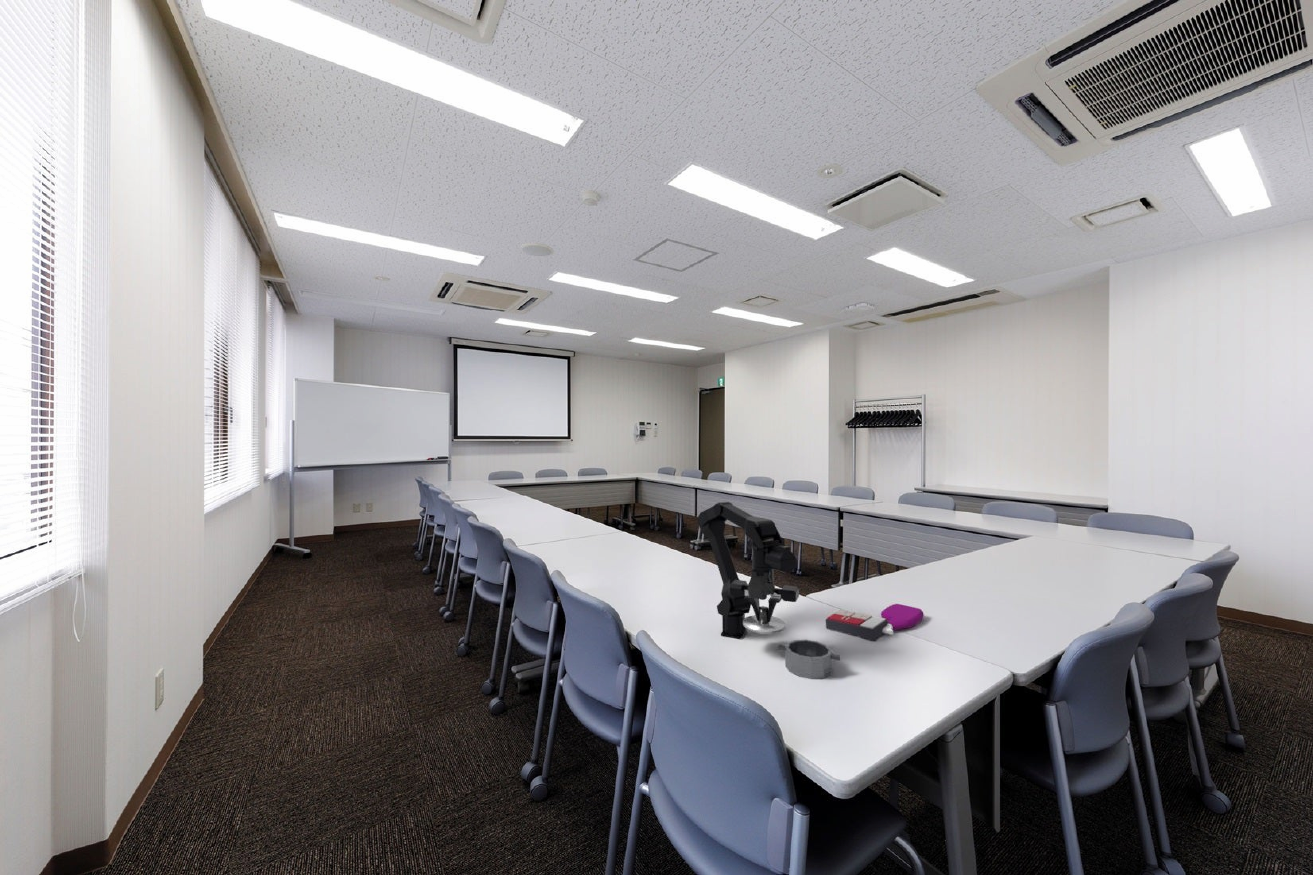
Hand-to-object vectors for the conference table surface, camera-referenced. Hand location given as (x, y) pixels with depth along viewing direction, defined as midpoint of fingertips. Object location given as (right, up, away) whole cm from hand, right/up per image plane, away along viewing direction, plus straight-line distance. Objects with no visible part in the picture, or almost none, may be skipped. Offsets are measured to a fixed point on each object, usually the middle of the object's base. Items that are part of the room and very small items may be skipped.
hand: (763, 621), depth 135 cm
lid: (0, -2, 0) cm, 2 cm away
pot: (+9, -8, -11) cm, 16 cm away
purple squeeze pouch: (+46, -8, +18) cm, 50 cm away
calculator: (+32, -8, +14) cm, 36 cm away
